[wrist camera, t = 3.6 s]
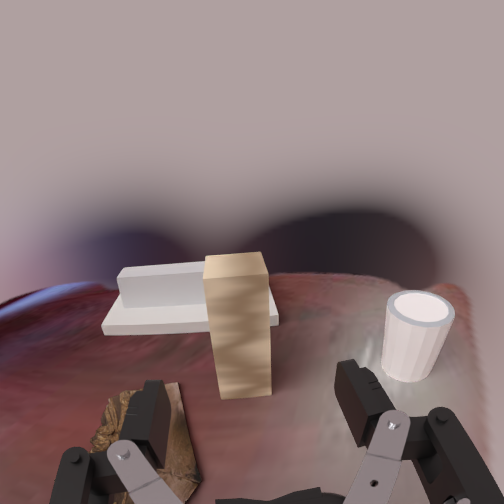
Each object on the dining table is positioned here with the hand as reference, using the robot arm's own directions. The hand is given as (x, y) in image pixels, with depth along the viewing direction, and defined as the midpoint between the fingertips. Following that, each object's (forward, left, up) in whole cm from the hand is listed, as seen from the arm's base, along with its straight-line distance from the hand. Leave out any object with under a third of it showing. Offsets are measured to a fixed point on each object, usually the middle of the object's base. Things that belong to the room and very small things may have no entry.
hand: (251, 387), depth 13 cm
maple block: (-4, +11, -10) cm, 15 cm away
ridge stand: (-15, +23, -10) cm, 29 cm away
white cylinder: (+12, +15, -11) cm, 22 cm away
